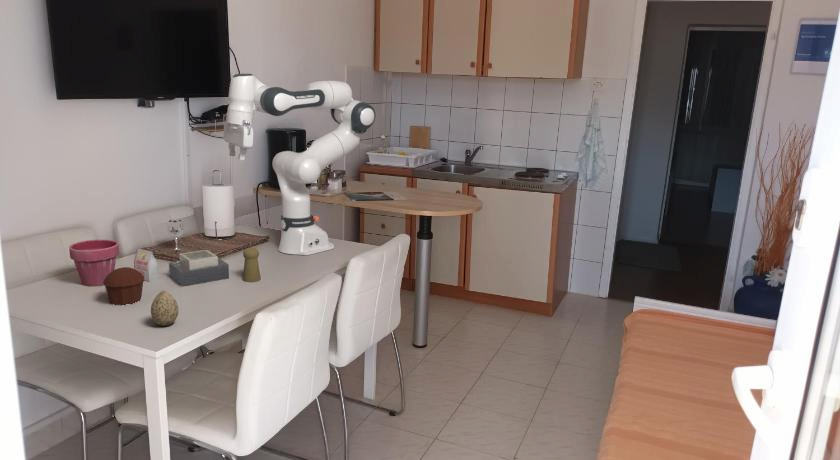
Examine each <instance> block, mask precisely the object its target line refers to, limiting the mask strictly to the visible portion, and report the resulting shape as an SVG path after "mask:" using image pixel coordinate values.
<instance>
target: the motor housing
mask: <svg viewBox="0 0 840 460" xmlns="http://www.w3.org/2000/svg"><path fill="white" fill-rule="evenodd" d="M178 256H179V260H177V261H171V262H168V269H169V277H170V279H172V281H175V282H176V283H177V284H178V285H179V286H180V287H189V286H193V285H194V286H195V285H199V284H205V283H210V282H216V281H217V282H218V281H221V280H226V279H230V272H229V270H230V269H229V267H230V266H229V263H227V262H226V261H224V260H223V259H221V258H219V257H218V256H217V255H216V254H215V253H213V252H211V250H208V249H203V250H202V249H201V250H196V251H189V252H183V253H182V252H180V253H179V255H178Z"/></svg>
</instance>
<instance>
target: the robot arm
mask: <svg viewBox="0 0 840 460" xmlns="http://www.w3.org/2000/svg"><path fill="white" fill-rule="evenodd" d="M230 79H231V80H230V83H229V87H228V88H229V91H228V100H229V103H228V106H227V112H226V113H225V114H224V115H223V117H222V118H223V119H222V120H223V121H222V122H223V123H224V124H223V139H224V142H225V143H228V151H229V152H228V155H229V156H230V157H235V156H236V146H237V147H239V154H238V158H237V159H238V160H240V161H245V158H246V154H247V152H248V149H250V150H251V149H252V148H253V147H254V129H253V127H252V126H253V119H254V111H256V112H260V113H263V114H268V115H271V116H273V117H281V116H284V115H285V114H287V113H289V112H291V111H293V110H298V109H306V108H309V109H312V110H319V111H320V110H330V116H331V118H332V120H333V121H334V122H335V123H337V125H338V124H339V125H338V126H337V127H336V129H334V130H332V131H330V132H328V133H326V134H324V135H322V136H321V137H318V138H316V139H315V140H313V141H312V142H311V144H310V146H309V147H308V148H307V149H306V150H304V151H301V152H295V151H293V150H292V151H291V150H284V151H281V152H278V153H276V154H275V156H274V157H273V159H272V162H271V163H272V169H273V171H274V173H275V174H276V177H277V182H278V185H279V189H280V197H281V215H280V229H281V233H280V234H281V235H280V242H279V245H278V249H277V250H278V251H279V252H280V253H283V254H287V255H288V254H289V255H300V256H301V255H302V256H310V255H314V254H319V253H323V252H326V251H330V250H334V249H335V244H334V243H332V242H330V241H329V236H328V233H327V232H326V231H325V230H324V229H323V228H321V227H320V226H318V225H317V224H316V223H317V222H319V220H320V217H319V216H316V215H315V216H314V215H312V214H311V196H310V193H309V191H308V188H307V186H306V184H307V185H308V184H313V183H315V182H316V181H317V180H319V178H320V176H321V173H322V171H324V169H326V168H327V167H328V166H329V165H331V164H333V163H335V162H336V161H338V160H340V159H342V158H343V157H344V156H346V155H349V154H350V153H351V152H352V151H353V150H355V148H357V147H358V146H359V145H360V141H361V138H360V135H361V134H365V133H366V132H367V131H368V129H370V128H372V126H373V124H374V123H375V121H376V117H377V115H376V114H377V113H376V110H375V109H374V108H373V106H372V105H371V104H369V103H367V102H365V101H361V100H356V99H353V90H352V88H351V86H350V84H349V83H346V82H345V81H339V80H318V81H314V82H313V81H312V82H310V83H308V84H307V85H306V87H305V89H304V90H292V91H291V90H287V89H285V88H284V87H280V86H268V85H266V84H264V83H263V82H261V81H260V80H259V79H258V78H257V77H256V76H255V75H254V74H252V73H236V74H234V75H232V77H231V78H230ZM315 222H316V223H315Z"/></svg>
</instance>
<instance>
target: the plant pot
mask: <svg viewBox="0 0 840 460" xmlns="http://www.w3.org/2000/svg"><path fill="white" fill-rule="evenodd" d="M68 248H69V250H68V251H69V257H70V259H71V260H72V261H74V266H75V269H76V271H77V274H78V277H79V279H80V282H81V284H82V285H84V286H87V287H97V286H98V287H99V286H105V285H104V284H103V282H104V280H105V278H106V277H107V275H108V274H109V273H111V272H112V271H114V270H115V268H116V263H117V262H116V261H117V257H118V256H119V254H120V248H119V242H118V241H117V240H113V239H88V240H82V241H78V242H75V243H72V244H71V245H69V247H68Z"/></svg>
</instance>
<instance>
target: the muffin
mask: <svg viewBox="0 0 840 460" xmlns="http://www.w3.org/2000/svg"><path fill="white" fill-rule="evenodd" d="M144 282H145V281H144V276H143V275H142V274H141V273H140V272H139V271H137V270H135V269H134V267H129V266H127V267H126V266H125V267H118V268H116V269H114V271H112V272H111V273H109V274H108V275H107V277H106V278H105V280H104V282H103V284H104V285H103V286H104V287H105V291H106V294H107V297H108V301H109V304H112V305H113V304H114V305H113V306H122V305H124V306H127V305H126V304H130V305H134V304H136V303H139V302H141V299H142V298H141V297H142V295H143V286H144ZM138 301H139V302H138ZM135 302H136V303H135ZM133 303H134V304H133Z"/></svg>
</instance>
